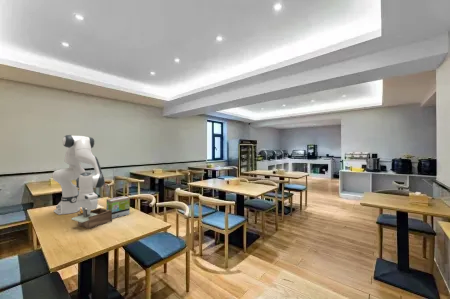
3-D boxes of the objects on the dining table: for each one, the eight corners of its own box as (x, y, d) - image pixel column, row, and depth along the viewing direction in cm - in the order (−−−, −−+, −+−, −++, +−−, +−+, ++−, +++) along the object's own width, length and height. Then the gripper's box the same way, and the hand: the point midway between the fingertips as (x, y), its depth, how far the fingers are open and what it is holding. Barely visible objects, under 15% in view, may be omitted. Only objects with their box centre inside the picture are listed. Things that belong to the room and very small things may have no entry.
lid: (71, 219, 143) (71, 211, 143) (91, 213, 155) (90, 206, 155) (81, 222, 138) (81, 213, 138) (101, 216, 150) (101, 208, 150)
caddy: (77, 225, 148) (77, 214, 148) (100, 217, 163) (99, 208, 163) (89, 229, 141) (89, 217, 141) (111, 221, 156) (111, 210, 156)
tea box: (111, 219, 160) (111, 201, 160) (106, 216, 166) (105, 199, 166) (130, 214, 172) (129, 197, 172) (124, 211, 178) (124, 195, 178)
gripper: (73, 194, 148) (73, 212, 148) (90, 197, 139) (90, 217, 139) (82, 192, 153) (82, 210, 154) (99, 195, 144) (99, 214, 145)
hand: (86, 213), depth 146 cm, fingers closed on lid, 3 cm apart
